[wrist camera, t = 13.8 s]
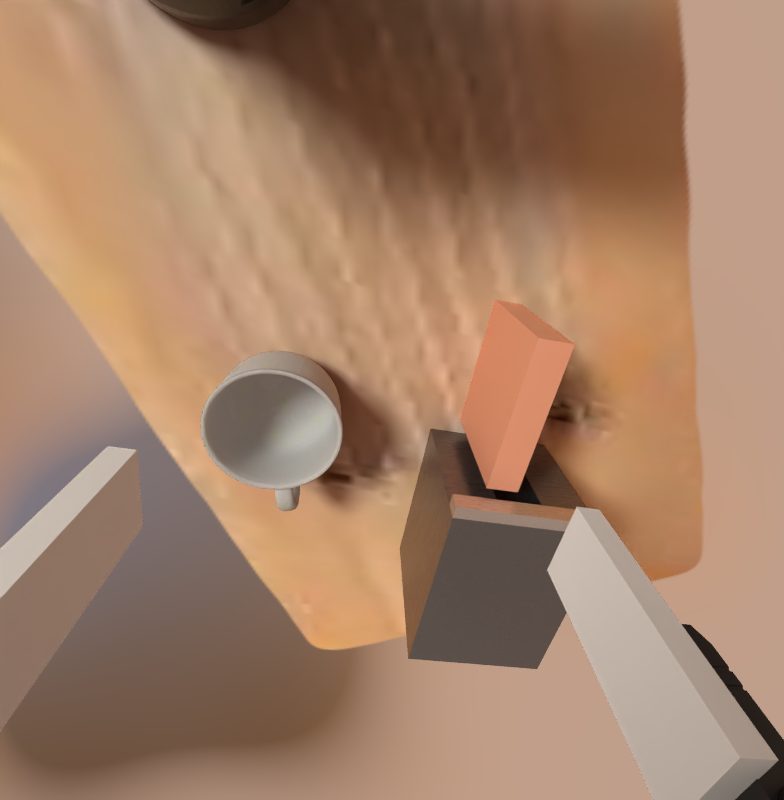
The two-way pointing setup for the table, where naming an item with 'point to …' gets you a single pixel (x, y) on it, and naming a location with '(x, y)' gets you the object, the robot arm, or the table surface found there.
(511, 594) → the block
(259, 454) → the teacup
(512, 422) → the salmon orange rectangular slab
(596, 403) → the table surface
